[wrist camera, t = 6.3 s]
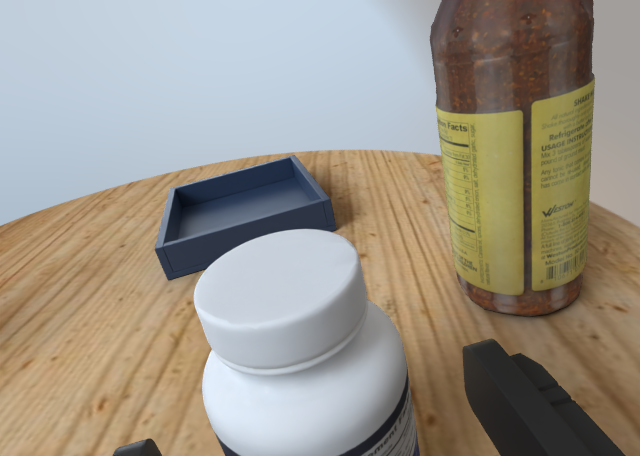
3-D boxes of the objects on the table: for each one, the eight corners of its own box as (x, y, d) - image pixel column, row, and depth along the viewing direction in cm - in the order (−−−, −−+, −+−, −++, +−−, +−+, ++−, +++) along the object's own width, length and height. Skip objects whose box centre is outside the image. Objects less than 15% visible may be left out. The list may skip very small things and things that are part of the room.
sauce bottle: (565, 252, 24) (598, -203, 15) (600, 325, 19) (680, -304, 10) (447, 257, 26) (417, -144, 17) (450, 324, 21) (408, -203, 12)
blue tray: (300, 178, 45) (294, 154, 44) (336, 230, 33) (330, 198, 31) (178, 212, 43) (169, 188, 42) (167, 280, 31) (154, 249, 30)
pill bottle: (239, 507, 15) (131, 282, 11) (350, 412, 17) (300, 201, 13) (336, 664, 11) (223, 402, 6) (462, 509, 13) (441, 249, 9)
